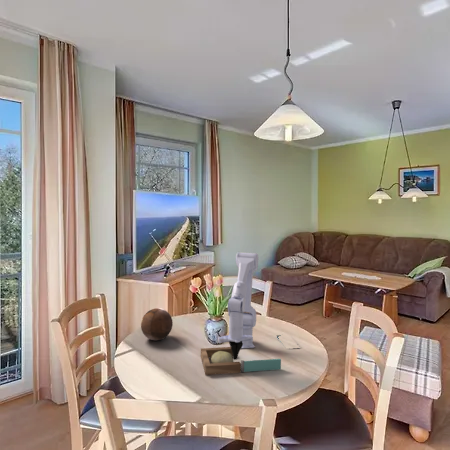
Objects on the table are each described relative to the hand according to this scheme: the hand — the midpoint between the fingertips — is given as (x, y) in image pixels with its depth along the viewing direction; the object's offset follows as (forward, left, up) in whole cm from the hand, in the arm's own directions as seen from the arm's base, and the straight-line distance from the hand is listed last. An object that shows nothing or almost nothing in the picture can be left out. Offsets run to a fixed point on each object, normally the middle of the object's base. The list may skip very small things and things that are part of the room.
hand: (235, 358), depth 138 cm
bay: (0, -5, -2) cm, 6 cm away
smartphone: (-17, +31, -3) cm, 35 cm away
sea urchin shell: (0, -5, -2) cm, 6 cm away
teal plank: (+8, +9, -2) cm, 12 cm away
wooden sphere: (-29, -32, -2) cm, 44 cm away
